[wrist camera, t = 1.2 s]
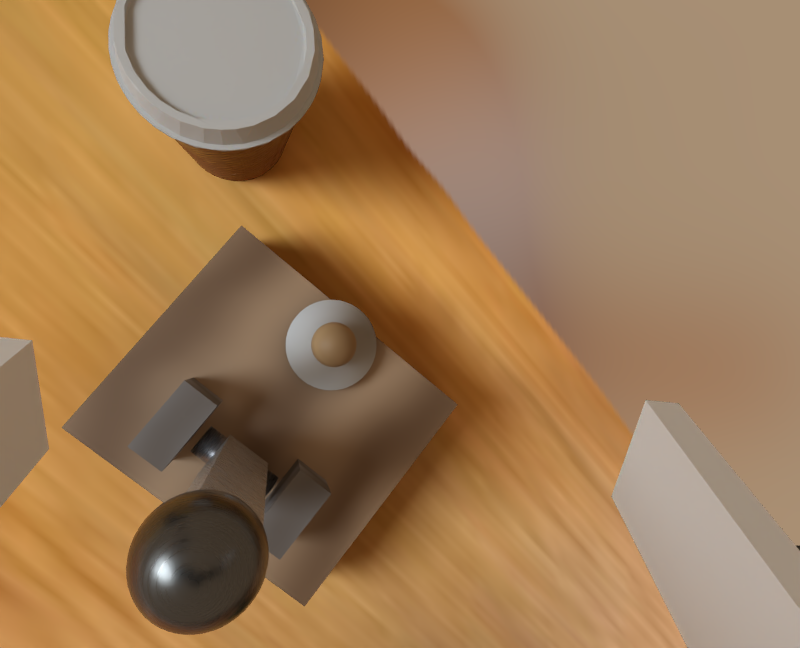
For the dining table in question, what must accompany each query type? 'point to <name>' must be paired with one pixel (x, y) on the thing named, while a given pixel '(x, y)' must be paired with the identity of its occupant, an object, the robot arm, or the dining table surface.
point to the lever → (204, 543)
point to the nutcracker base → (269, 405)
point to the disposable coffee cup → (219, 75)
